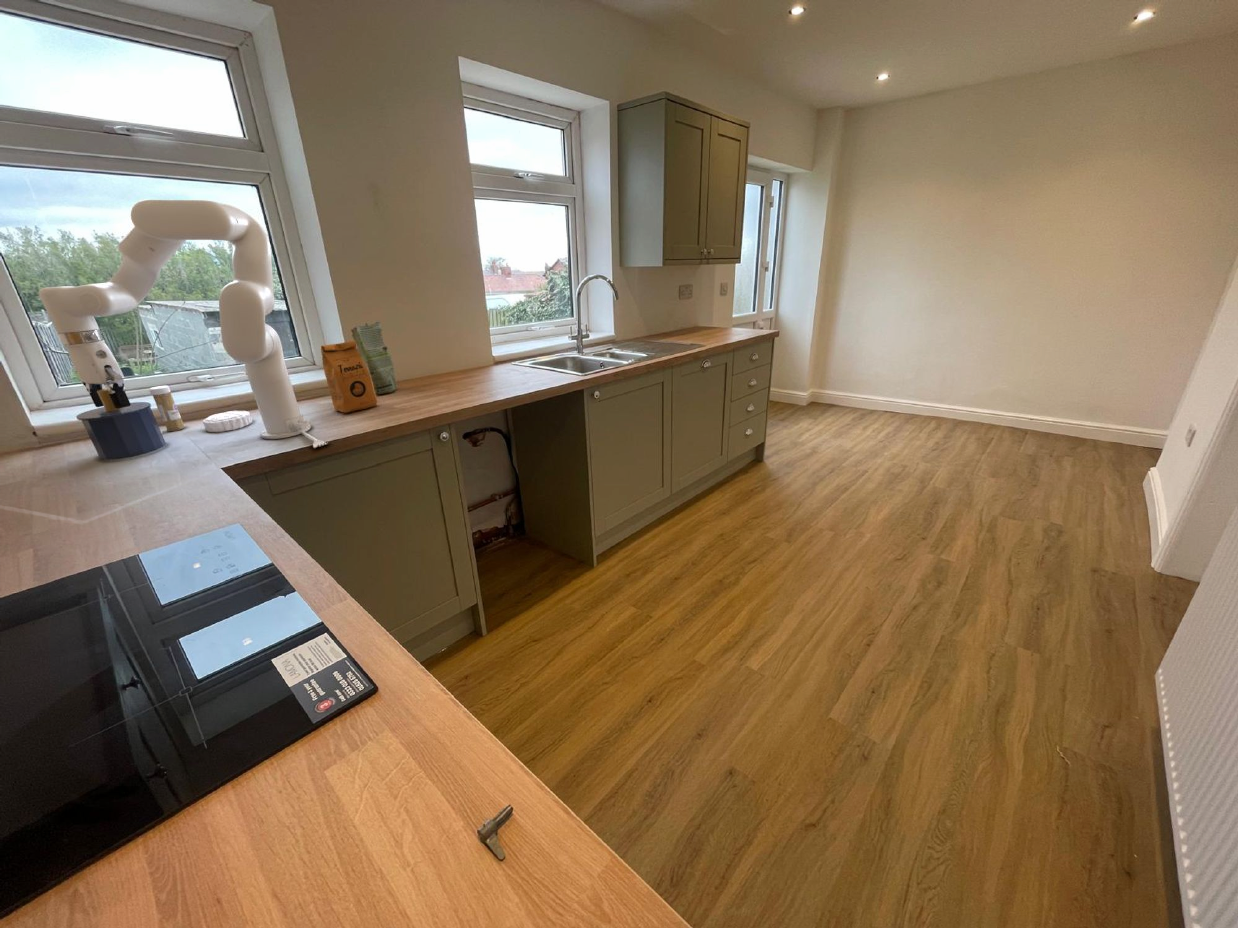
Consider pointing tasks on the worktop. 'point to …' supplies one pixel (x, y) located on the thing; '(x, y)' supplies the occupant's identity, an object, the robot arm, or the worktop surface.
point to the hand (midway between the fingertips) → (113, 406)
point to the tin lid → (111, 408)
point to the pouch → (375, 357)
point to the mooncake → (227, 421)
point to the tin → (125, 435)
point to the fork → (314, 440)
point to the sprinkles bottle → (167, 408)
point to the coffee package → (347, 377)
